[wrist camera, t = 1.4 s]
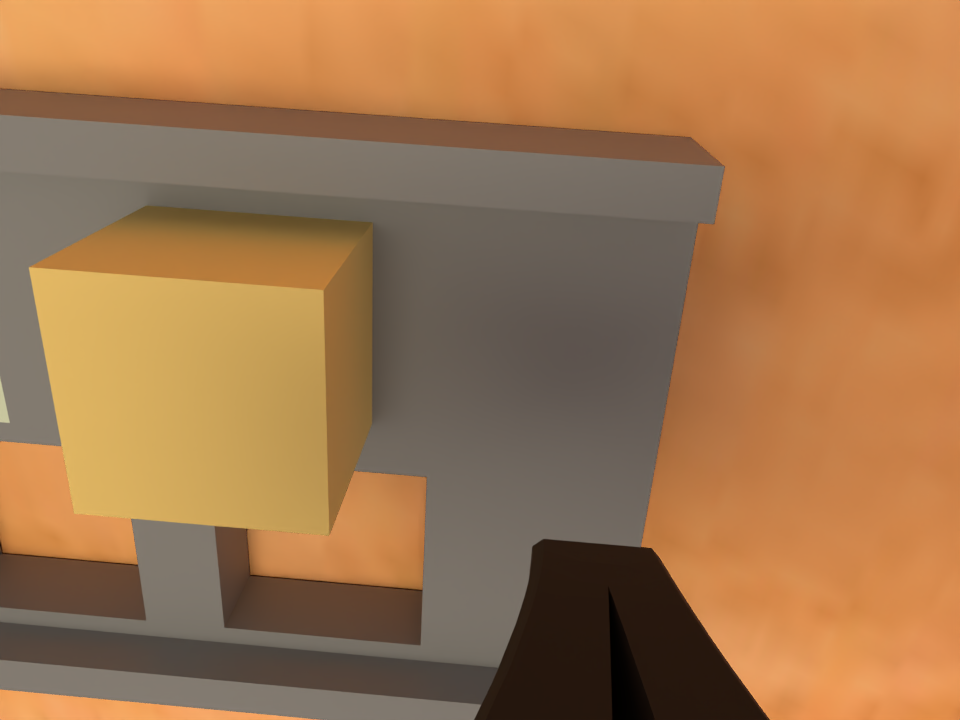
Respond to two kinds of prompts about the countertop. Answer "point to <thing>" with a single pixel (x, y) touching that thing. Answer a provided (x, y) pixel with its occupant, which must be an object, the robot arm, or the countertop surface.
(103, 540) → the countertop surface
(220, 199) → the trap tray
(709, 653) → the robot arm
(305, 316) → the block
